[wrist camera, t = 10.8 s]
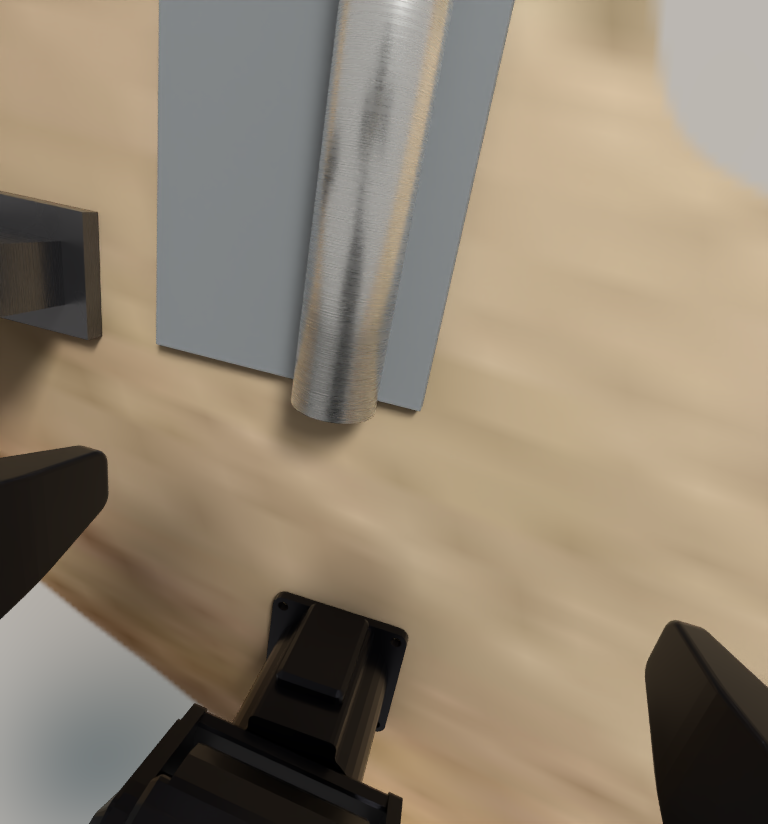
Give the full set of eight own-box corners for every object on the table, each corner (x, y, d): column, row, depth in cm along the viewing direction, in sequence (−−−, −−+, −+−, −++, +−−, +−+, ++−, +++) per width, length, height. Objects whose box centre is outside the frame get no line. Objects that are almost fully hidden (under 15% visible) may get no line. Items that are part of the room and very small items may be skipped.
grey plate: (422, 406, 20) (419, 411, 19) (165, 340, 21) (156, 344, 21) (664, -659, 11) (673, -707, 10) (180, -639, 12) (165, -679, 12)
